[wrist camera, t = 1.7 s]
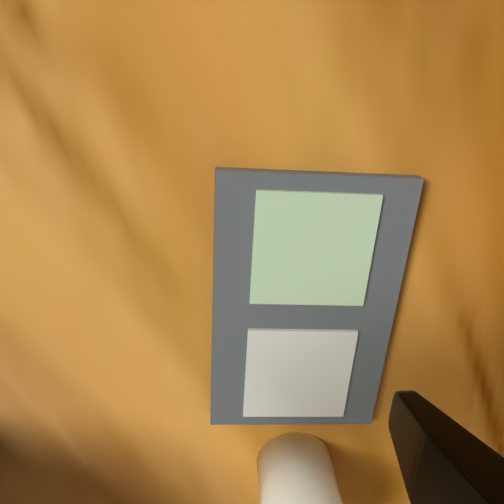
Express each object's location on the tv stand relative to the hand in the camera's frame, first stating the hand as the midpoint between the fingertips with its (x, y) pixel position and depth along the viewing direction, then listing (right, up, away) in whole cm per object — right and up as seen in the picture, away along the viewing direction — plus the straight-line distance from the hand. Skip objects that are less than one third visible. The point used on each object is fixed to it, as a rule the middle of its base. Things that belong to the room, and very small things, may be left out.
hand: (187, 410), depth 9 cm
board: (+4, +1, +12) cm, 13 cm away
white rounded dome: (+4, -9, +16) cm, 19 cm away
